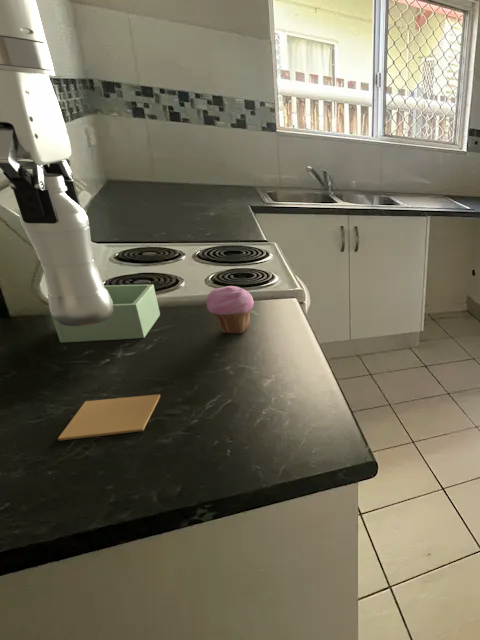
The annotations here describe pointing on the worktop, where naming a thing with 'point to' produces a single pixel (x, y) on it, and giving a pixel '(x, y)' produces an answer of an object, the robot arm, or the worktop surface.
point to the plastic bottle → (69, 261)
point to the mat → (110, 417)
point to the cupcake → (230, 308)
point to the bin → (118, 316)
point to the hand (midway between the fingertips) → (54, 215)
